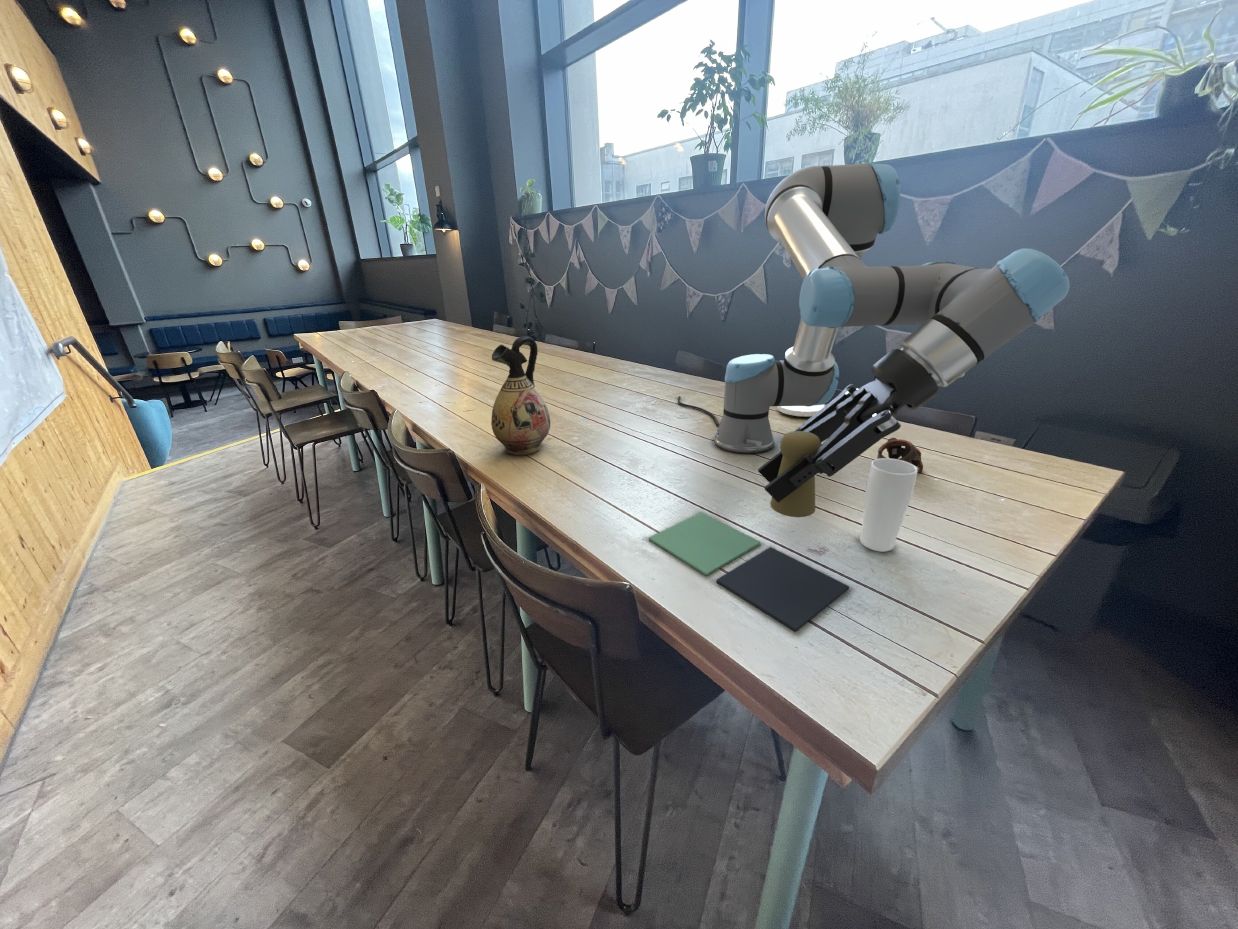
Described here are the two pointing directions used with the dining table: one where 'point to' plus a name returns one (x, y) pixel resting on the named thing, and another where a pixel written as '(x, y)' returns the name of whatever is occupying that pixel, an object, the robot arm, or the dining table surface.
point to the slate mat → (783, 587)
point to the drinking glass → (886, 502)
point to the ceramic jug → (519, 402)
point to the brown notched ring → (902, 452)
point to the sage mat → (704, 543)
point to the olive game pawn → (792, 451)
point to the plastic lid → (800, 410)
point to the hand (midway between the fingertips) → (767, 485)
